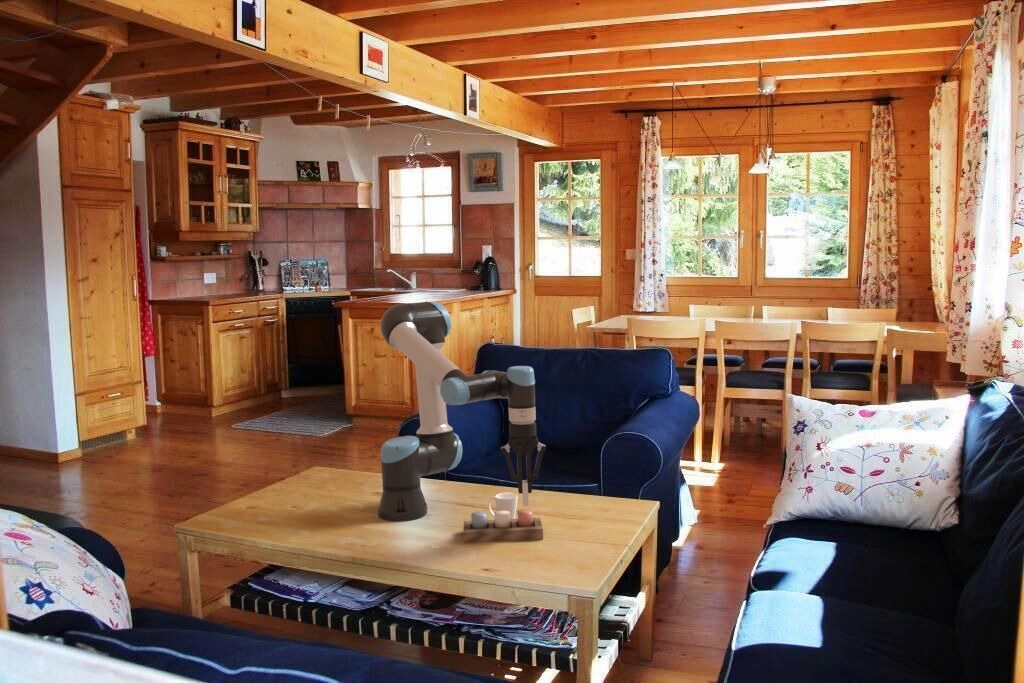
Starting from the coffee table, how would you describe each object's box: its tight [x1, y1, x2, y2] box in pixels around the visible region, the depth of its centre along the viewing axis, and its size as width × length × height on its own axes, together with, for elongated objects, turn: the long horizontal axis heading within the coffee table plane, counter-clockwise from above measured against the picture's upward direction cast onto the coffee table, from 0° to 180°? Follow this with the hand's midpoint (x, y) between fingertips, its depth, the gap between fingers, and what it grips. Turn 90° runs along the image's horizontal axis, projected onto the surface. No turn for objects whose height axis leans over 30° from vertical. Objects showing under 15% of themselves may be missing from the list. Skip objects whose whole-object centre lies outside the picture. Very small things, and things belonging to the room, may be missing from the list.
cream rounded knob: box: [493, 510, 510, 528], centre depth 246 cm, size 4×4×4 cm
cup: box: [488, 492, 519, 519], centre depth 258 cm, size 7×10×8 cm
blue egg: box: [470, 511, 488, 529], centre depth 245 cm, size 4×4×4 cm
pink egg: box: [516, 509, 534, 527], centre depth 246 cm, size 4×4×4 cm
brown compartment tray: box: [463, 517, 544, 544], centre depth 246 cm, size 22×10×3 cm, turn 93°
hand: (525, 504), depth 245 cm, fingers closed
